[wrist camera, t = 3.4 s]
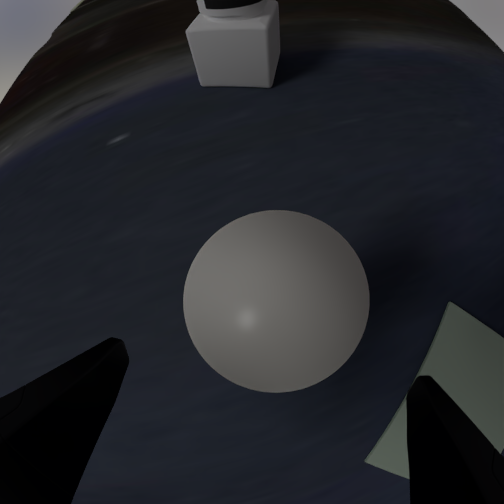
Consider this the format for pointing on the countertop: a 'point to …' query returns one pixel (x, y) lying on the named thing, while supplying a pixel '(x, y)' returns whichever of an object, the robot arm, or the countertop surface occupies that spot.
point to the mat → (454, 385)
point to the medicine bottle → (235, 42)
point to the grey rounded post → (276, 301)
